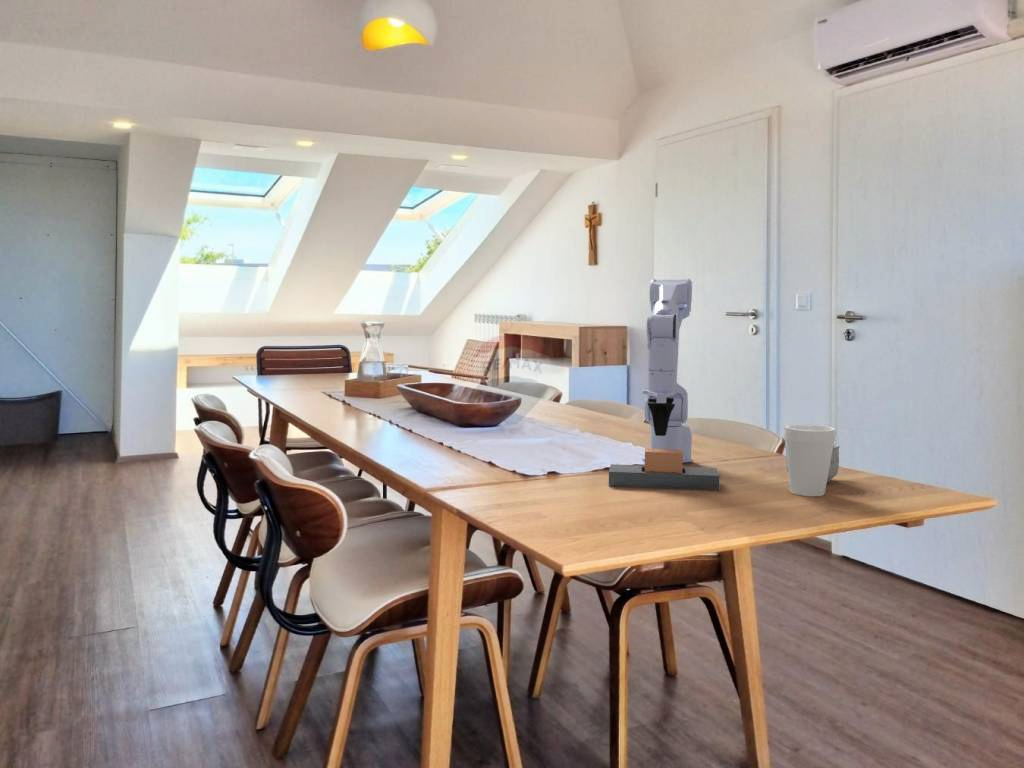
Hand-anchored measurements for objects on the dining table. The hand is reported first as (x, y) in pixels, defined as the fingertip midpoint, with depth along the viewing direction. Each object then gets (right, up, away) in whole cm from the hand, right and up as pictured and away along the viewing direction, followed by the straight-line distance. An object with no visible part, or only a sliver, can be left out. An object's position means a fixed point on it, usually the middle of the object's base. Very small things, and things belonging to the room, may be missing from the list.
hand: (660, 432), depth 177 cm
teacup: (+33, -10, -3) cm, 34 cm away
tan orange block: (-1, -10, -8) cm, 13 cm away
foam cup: (+27, -11, -15) cm, 32 cm away
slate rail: (-1, -10, -8) cm, 13 cm away
